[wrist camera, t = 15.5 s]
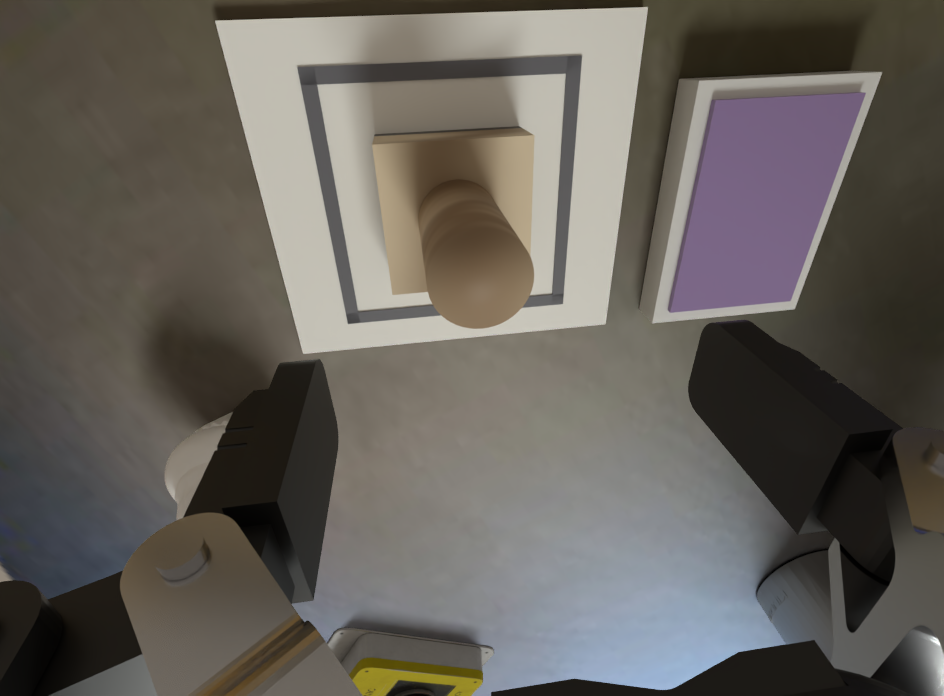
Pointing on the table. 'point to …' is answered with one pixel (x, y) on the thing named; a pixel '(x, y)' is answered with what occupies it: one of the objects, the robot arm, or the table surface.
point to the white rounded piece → (192, 462)
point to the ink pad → (749, 189)
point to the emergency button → (409, 663)
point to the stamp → (459, 219)
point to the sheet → (434, 109)
